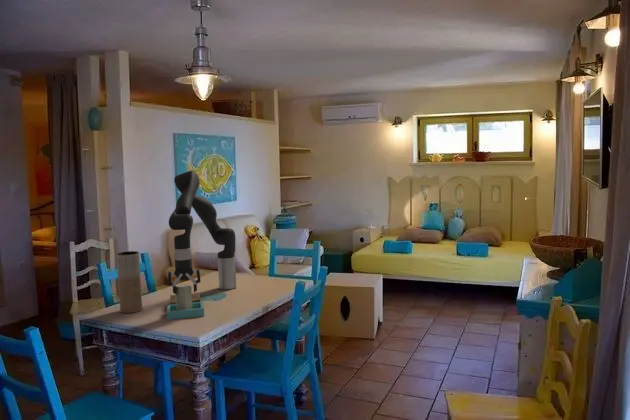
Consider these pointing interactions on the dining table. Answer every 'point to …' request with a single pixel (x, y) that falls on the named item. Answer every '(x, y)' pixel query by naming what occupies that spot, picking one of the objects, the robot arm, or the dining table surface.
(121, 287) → the vase
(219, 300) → the dining table surface
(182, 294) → the skincare box
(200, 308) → the tray
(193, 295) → the wooden square frame
